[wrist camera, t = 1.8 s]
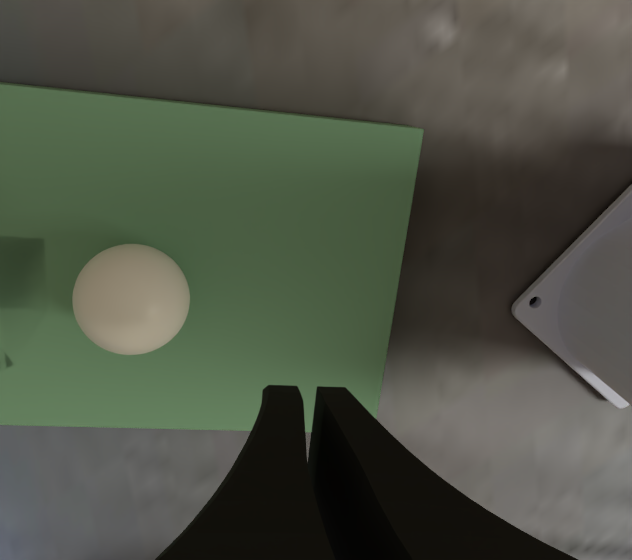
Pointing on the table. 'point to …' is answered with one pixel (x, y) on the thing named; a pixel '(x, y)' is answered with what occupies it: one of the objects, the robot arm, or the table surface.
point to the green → (197, 254)
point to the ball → (131, 299)
